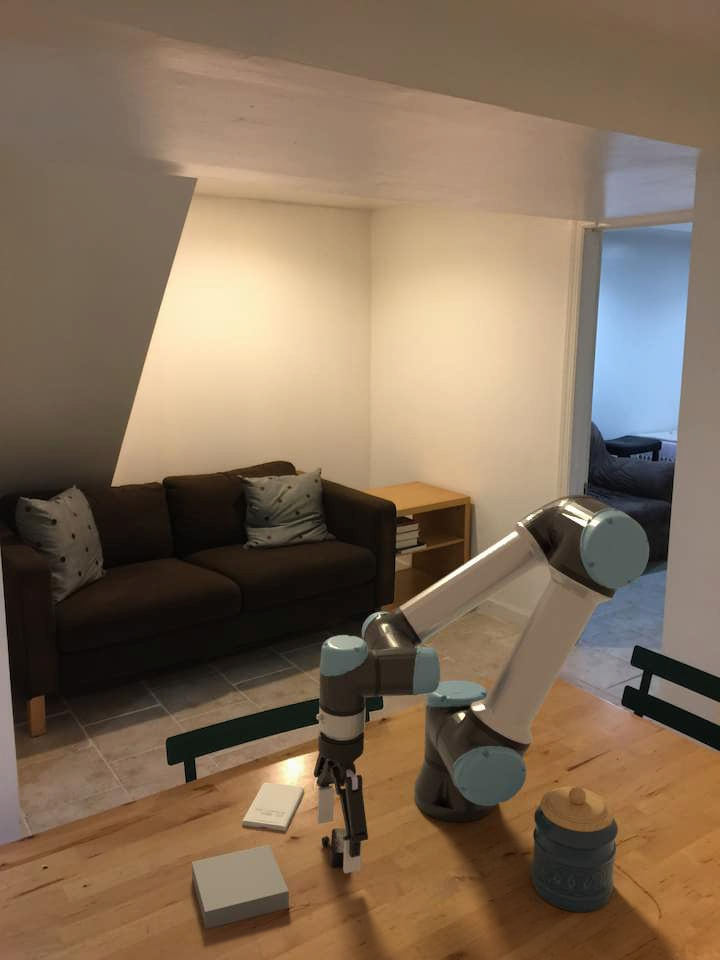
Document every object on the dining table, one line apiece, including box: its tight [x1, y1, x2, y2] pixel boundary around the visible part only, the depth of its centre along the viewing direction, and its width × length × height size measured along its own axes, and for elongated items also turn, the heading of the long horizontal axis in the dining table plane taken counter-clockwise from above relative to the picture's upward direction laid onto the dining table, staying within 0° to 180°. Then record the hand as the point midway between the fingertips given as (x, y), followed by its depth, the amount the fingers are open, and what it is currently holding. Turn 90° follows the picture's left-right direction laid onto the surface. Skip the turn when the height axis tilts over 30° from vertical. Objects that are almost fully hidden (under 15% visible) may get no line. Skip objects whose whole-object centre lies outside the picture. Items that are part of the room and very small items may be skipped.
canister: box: [530, 786, 619, 913], centre depth 132 cm, size 13×13×18 cm
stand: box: [191, 843, 290, 930], centre depth 131 cm, size 13×12×3 cm
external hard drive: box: [241, 781, 305, 832], centre depth 154 cm, size 2×8×12 cm
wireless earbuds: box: [321, 828, 347, 869], centre depth 140 cm, size 5×7×3 cm, turn 179°
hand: (337, 844), depth 139 cm, fingers open, 13 cm apart
